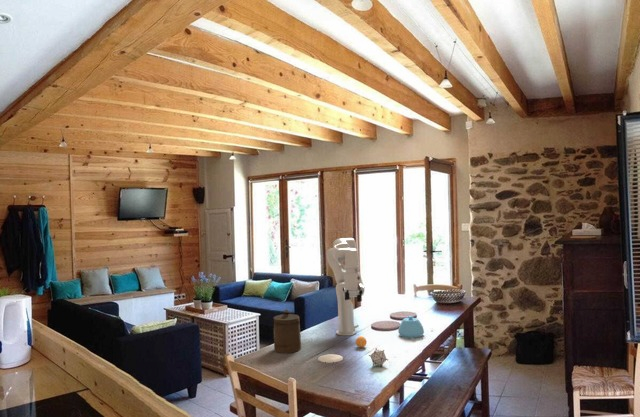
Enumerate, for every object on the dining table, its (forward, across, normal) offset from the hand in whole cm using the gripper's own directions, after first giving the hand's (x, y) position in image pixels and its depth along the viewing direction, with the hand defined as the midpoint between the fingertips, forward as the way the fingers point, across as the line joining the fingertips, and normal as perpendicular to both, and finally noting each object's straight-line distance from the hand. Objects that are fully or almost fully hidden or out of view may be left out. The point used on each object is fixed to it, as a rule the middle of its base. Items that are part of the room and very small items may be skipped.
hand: (353, 300), depth 277 cm
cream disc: (+25, -9, +28) cm, 38 cm away
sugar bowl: (+25, -13, -35) cm, 45 cm away
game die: (+26, -35, +19) cm, 47 cm away
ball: (+22, -8, +3) cm, 23 cm away
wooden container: (+25, +21, +32) cm, 46 cm away
